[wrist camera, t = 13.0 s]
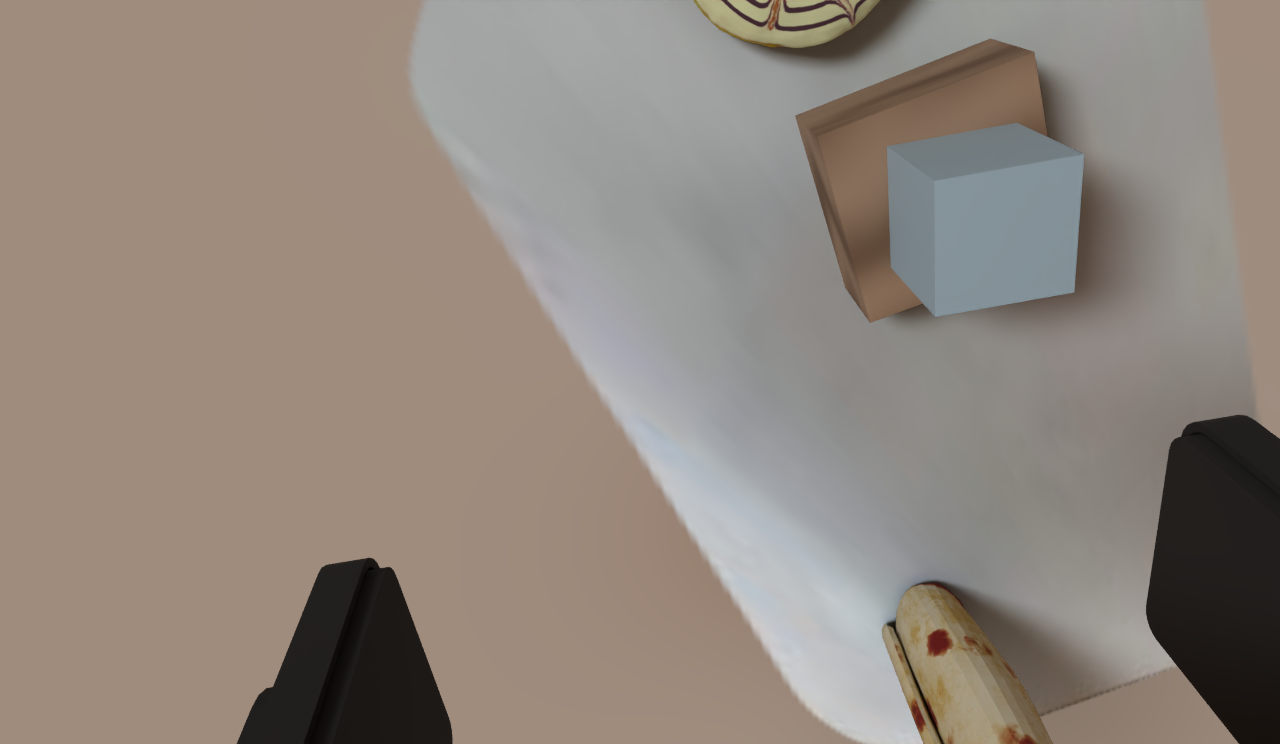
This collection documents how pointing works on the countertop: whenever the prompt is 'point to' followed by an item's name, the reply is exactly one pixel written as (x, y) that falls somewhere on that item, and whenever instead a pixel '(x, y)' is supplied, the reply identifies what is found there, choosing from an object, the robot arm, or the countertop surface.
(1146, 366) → the countertop surface
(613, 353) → the countertop surface
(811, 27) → the decorated donut
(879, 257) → the walnut block
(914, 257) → the slate cube
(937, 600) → the food model
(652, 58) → the countertop surface
